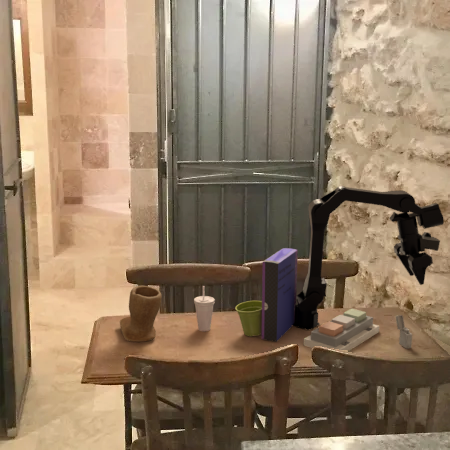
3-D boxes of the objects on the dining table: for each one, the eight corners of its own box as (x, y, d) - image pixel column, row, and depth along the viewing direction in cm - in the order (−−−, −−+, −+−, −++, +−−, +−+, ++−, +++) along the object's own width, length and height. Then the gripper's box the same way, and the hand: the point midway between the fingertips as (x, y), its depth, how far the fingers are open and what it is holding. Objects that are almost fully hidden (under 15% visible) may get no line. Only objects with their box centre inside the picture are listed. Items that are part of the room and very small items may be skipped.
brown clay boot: (164, 343, 194) (164, 294, 190) (123, 346, 191) (122, 297, 188) (157, 324, 208) (157, 278, 205) (119, 327, 206) (118, 280, 202)
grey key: (331, 327, 197) (331, 319, 196) (339, 322, 201) (340, 314, 200) (346, 331, 194) (346, 323, 193) (354, 326, 198) (354, 318, 197)
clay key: (318, 334, 192) (319, 325, 191) (327, 329, 196) (328, 321, 195) (333, 338, 189) (334, 330, 188) (342, 333, 192) (343, 325, 192)
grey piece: (303, 345, 193) (304, 330, 192) (344, 322, 211) (345, 309, 210) (339, 356, 186) (340, 341, 185) (378, 331, 203) (379, 318, 202)
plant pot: (232, 335, 201) (228, 308, 199) (252, 324, 207) (249, 298, 205) (255, 341, 194) (252, 313, 192) (275, 330, 201) (272, 303, 199)
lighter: (411, 348, 192) (413, 322, 190) (406, 348, 191) (408, 322, 190) (398, 338, 199) (400, 313, 197) (393, 339, 198) (395, 313, 196)
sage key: (343, 320, 202) (343, 312, 202) (351, 316, 206) (351, 308, 205) (357, 324, 199) (358, 316, 199) (365, 319, 203) (366, 312, 202)
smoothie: (190, 331, 203) (190, 287, 199) (199, 323, 208) (199, 281, 205) (209, 334, 200) (209, 290, 197) (217, 326, 206) (218, 284, 203)
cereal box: (281, 320, 212) (283, 247, 207) (295, 322, 210) (297, 249, 205) (261, 339, 196) (262, 261, 191) (276, 341, 194) (278, 262, 189)
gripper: (445, 232, 192) (453, 283, 195) (423, 219, 210) (431, 265, 213) (408, 241, 192) (417, 291, 195) (389, 227, 210) (397, 273, 213)
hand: (416, 279), depth 204 cm, fingers open, 9 cm apart
